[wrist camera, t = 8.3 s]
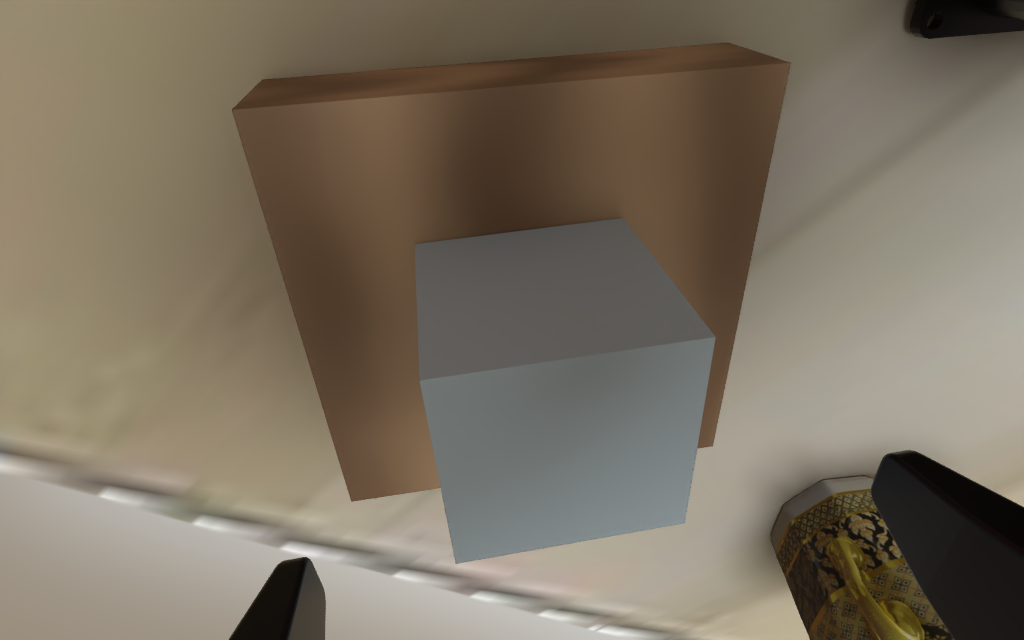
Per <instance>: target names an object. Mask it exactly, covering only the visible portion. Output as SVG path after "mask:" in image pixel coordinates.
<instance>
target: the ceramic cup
mask: <svg viewBox="0 0 1024 640" xmlns="http://www.w3.org/2000/svg"><path fill="white" fill-rule="evenodd" d="M872 483H873V479H872V478H868V477H866V476H858V477H849V478H839V479H829V480H822V481H820V482H818V483H817V484H815V485H813V486H812V487H810V488H809V489H807V490H806V491H804V492H802V493H801V494H799V495H798V496H796V497H795V498H793V499H791V500H790V501H788V502H787V503H785V504H784V505H783V507H782V509H781V512H780V514H779V516H778V519H777V521H776V523H775V526H774V528H773V530H772V533H771V542H772V545H773V548H774V550H775V553H776V556H777V559H778V561H779V563H780V566H781V568H782V571H783V573H784V575H785V578H786V580H787V583H788V586H789V588H790V591H791V593H792V596H793V599H794V601H795V604H796V606H797V609H798V611H799V614H800V617H801V619H802V621H803V623H804V626H805V628H806V630H807V633H808V635H809V638H810V640H954V638H953V637H952V635H951V634H950V632H949V631H948V630H947V628H946V627H945V625H944V624H943V622H942V621H941V619H940V618H939V616H938V615H937V613H936V612H935V610H934V609H933V607H932V606H931V604H930V602H929V601H928V599H927V598H926V596H925V595H924V593H923V591H922V590H921V588H920V586H919V585H918V583H917V581H916V579H915V578H914V576H913V574H912V572H911V570H910V568H909V567H908V565H907V563H906V561H905V559H904V557H903V556H902V554H901V552H900V550H899V548H898V547H897V545H896V543H895V541H894V539H893V537H892V536H891V534H890V532H889V530H888V528H887V526H886V525H885V523H884V521H883V519H882V517H881V515H880V514H879V512H878V510H877V508H876V506H875V504H874V502H873V499H872V496H871V486H872Z"/></svg>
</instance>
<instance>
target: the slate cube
mask: <svg viewBox="0 0 1024 640" xmlns="http://www.w3.org/2000/svg"><path fill="white" fill-rule="evenodd" d="M415 270H416V297H417V325H418V352H419V380H420V385H421V391H422V396H423V401H424V406H425V411H426V416H427V421H428V426H429V431H430V436H431V441H432V446H433V451H434V456H435V461H436V466H437V471H438V476H439V481H440V487H441V492H442V497H443V502H444V507H445V512H446V517H447V522H448V527H449V532H450V537H451V542H452V547H453V552H454V557H455V562H456V564H458V563H463V562H469V561H474V560H480V559H486V558H491V557H497V556H502V555H508V554H514V553H519V552H525V551H531V550H536V549H542V548H547V547H553V546H559V545H564V544H570V543H576V542H581V541H587V540H592V539H598V538H604V537H609V536H615V535H621V534H626V533H632V532H637V531H643V530H649V529H654V528H660V527H666V526H671V525H677V524H682V523H685V518H686V512H687V506H688V500H689V494H690V488H691V482H692V476H693V470H694V464H695V458H696V452H697V446H698V440H699V434H700V428H701V422H702V416H703V410H704V404H705V398H706V392H707V386H708V380H709V374H710V368H711V362H712V356H713V350H714V344H715V338H716V337H715V335H714V334H713V333H712V332H711V330H710V329H709V328H708V326H707V325H706V324H705V322H704V321H703V320H702V319H701V317H700V316H699V315H698V313H697V312H696V311H695V310H694V308H693V307H692V306H691V304H690V303H689V302H688V301H687V299H686V298H685V297H684V295H683V294H682V293H681V292H680V290H679V289H678V288H677V286H676V285H675V284H674V283H673V281H672V280H671V279H670V277H669V276H668V275H667V273H666V272H665V271H664V270H663V268H662V267H661V266H660V264H659V263H658V262H657V261H656V259H655V258H654V257H653V255H652V254H651V253H650V252H649V250H648V249H647V248H646V246H645V245H644V244H643V243H642V241H641V240H640V239H639V237H638V236H637V235H636V234H635V232H634V231H633V230H632V228H631V227H630V226H629V224H628V223H627V222H626V221H625V219H624V218H618V219H610V220H602V221H594V222H586V223H578V224H570V225H562V226H554V227H546V228H538V229H530V230H522V231H515V232H507V233H499V234H491V235H483V236H475V237H467V238H459V239H451V240H443V241H435V242H427V243H419V244H415Z"/></svg>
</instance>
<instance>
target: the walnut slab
mask: <svg viewBox="0 0 1024 640" xmlns="http://www.w3.org/2000/svg"><path fill="white" fill-rule="evenodd" d="M790 64H791V63H790V62H787V61H784V60H780V59H777V58H774V57H771V56H768V55H765V54H762V53H759V52H755V51H752V50H749V49H746V48H743V47H740V46H737V45H733V44H730V43H720V44H707V45H694V46H682V47H669V48H657V49H644V50H631V51H619V52H606V53H594V54H581V55H569V56H556V57H543V58H531V59H518V60H506V61H493V62H481V63H468V64H455V65H443V66H430V67H418V68H405V69H392V70H380V71H367V72H355V73H342V74H330V75H317V76H304V77H292V78H279V79H267V80H262V81H261V82H260V83H259V84H257V85H256V86H255V87H254V88H253V89H252V90H251V91H250V92H249V93H248V94H247V95H246V96H245V97H244V98H243V99H242V100H241V101H240V102H239V103H238V104H237V105H236V106H235V107H234V108H233V109H232V112H233V115H234V119H235V122H236V125H237V128H238V132H239V135H240V138H241V142H242V145H243V148H244V151H245V155H246V158H247V161H248V164H249V168H250V171H251V174H252V178H253V181H254V184H255V187H256V191H257V194H258V197H259V201H260V204H261V207H262V210H263V214H264V217H265V220H266V223H267V227H268V230H269V233H270V237H271V240H272V243H273V246H274V250H275V253H276V256H277V259H278V263H279V266H280V269H281V273H282V276H283V279H284V282H285V286H286V289H287V292H288V295H289V299H290V302H291V305H292V309H293V312H294V315H295V318H296V322H297V325H298V328H299V331H300V335H301V338H302V341H303V345H304V348H305V351H306V354H307V358H308V361H309V364H310V367H311V371H312V374H313V377H314V381H315V384H316V387H317V390H318V394H319V397H320V400H321V404H322V407H323V410H324V413H325V417H326V420H327V423H328V426H329V430H330V433H331V436H332V440H333V443H334V446H335V449H336V453H337V456H338V459H339V462H340V466H341V469H342V472H343V476H344V479H345V482H346V485H347V489H348V492H349V495H350V498H351V502H352V501H358V500H365V499H371V498H378V497H384V496H391V495H397V494H404V493H410V492H417V491H424V490H430V489H437V488H441V487H440V481H439V476H438V471H437V466H436V461H435V456H434V451H433V446H432V441H431V436H430V431H429V426H428V421H427V416H426V411H425V406H424V401H423V396H422V391H421V385H420V380H419V352H418V325H417V297H416V270H415V244H419V243H427V242H435V241H443V240H451V239H459V238H467V237H475V236H483V235H491V234H499V233H507V232H515V231H522V230H530V229H538V228H546V227H554V226H562V225H570V224H578V223H586V222H594V221H602V220H610V219H618V218H624V219H625V221H626V222H627V223H628V224H629V226H630V227H631V228H632V230H633V231H634V232H635V234H636V235H637V236H638V237H639V239H640V240H641V241H642V243H643V244H644V245H645V246H646V248H647V249H648V250H649V252H650V253H651V254H652V255H653V257H654V258H655V259H656V261H657V262H658V263H659V264H660V266H661V267H662V268H663V270H664V271H665V272H666V273H667V275H668V276H669V277H670V279H671V280H672V281H673V283H674V284H675V285H676V286H677V288H678V289H679V290H680V292H681V293H682V294H683V295H684V297H685V298H686V299H687V301H688V302H689V303H690V304H691V306H692V307H693V308H694V310H695V311H696V312H697V313H698V315H699V316H700V317H701V319H702V320H703V321H704V322H705V324H706V325H707V326H708V328H709V329H710V330H711V332H712V333H713V334H714V335H715V337H716V338H715V344H714V350H713V356H712V362H711V368H710V374H709V380H708V386H707V392H706V398H705V404H704V410H703V416H702V422H701V428H700V434H699V440H698V446H697V448H704V447H710V446H713V443H714V438H715V433H716V428H717V423H718V418H719V413H720V408H721V403H722V398H723V393H724V389H725V384H726V379H727V374H728V369H729V364H730V359H731V354H732V349H733V344H734V339H735V334H736V330H737V325H738V320H739V315H740V310H741V305H742V300H743V295H744V290H745V285H746V280H747V275H748V271H749V266H750V261H751V256H752V251H753V246H754V241H755V236H756V231H757V226H758V221H759V216H760V212H761V207H762V202H763V197H764V192H765V187H766V182H767V177H768V172H769V167H770V162H771V157H772V152H773V148H774V143H775V138H776V133H777V128H778V123H779V118H780V113H781V108H782V103H783V98H784V93H785V89H786V84H787V79H788V74H789V69H790Z"/></svg>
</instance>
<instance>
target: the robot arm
mask: <svg viewBox="0 0 1024 640" xmlns="http://www.w3.org/2000/svg"><path fill="white" fill-rule="evenodd" d="M933 13H934V17H933V20H932V22H931V24H930V25H929V26H927V23H928V20H929V18H930V16H931V15H932V14H933ZM910 29H911V32H912V33H913V34H914V35H915V36H918V37H923V38H929V39H931V38H943V37H954V36H966V35H977V34H989V33H1000V32H1012V31H1023V30H1024V0H917V2H916V5H915V8H914V12H913V15H912V19H911V24H910ZM871 496H872V499H873V502H874V504H875V506H876V508H877V510H878V512H879V514H880V515H881V517H882V519H883V521H884V523H885V525H886V526H887V528H888V530H889V532H890V534H891V536H892V537H893V539H894V541H895V543H896V545H897V547H898V548H899V550H900V552H901V554H902V556H903V557H904V559H905V561H906V563H907V565H908V567H909V568H910V570H911V572H912V574H913V576H914V578H915V579H916V581H917V583H918V585H919V586H920V588H921V590H922V591H923V593H924V595H925V596H926V598H927V599H928V601H929V602H930V604H931V606H932V607H933V609H934V610H935V612H936V613H937V615H938V616H939V618H940V619H941V621H942V622H943V624H944V625H945V627H946V628H947V630H948V631H949V632H950V634H951V635H952V637H953V638H954V640H1024V507H1022V506H1020V505H1019V504H1017V503H1015V502H1013V501H1011V500H1009V499H1007V498H1005V497H1003V496H1001V495H999V494H997V493H995V492H994V491H992V490H990V489H988V488H986V487H984V486H982V485H980V484H978V483H976V482H974V481H972V480H970V479H968V478H967V477H965V476H963V475H961V474H959V473H957V472H955V471H953V470H951V469H949V468H947V467H945V466H943V465H942V464H940V463H938V462H936V461H934V460H932V459H930V458H928V457H926V456H924V455H922V454H920V453H918V452H915V451H911V450H906V451H900V452H894V453H889V454H887V455H885V456H884V457H883V459H882V461H881V463H880V466H879V468H878V471H877V473H876V476H875V478H874V480H873V483H872V486H871ZM325 609H326V600H325V592H324V588H323V586H322V583H321V581H320V579H319V577H318V575H317V572H316V570H315V568H314V566H313V563H312V561H311V560H310V559H309V558H307V557H302V558H297V559H292V560H285V561H282V562H281V563H280V564H278V565H277V567H276V568H275V569H274V571H273V573H272V574H271V575H270V577H269V578H268V580H267V582H266V583H265V585H264V586H263V588H262V589H261V591H260V592H259V594H258V595H257V597H256V598H255V600H254V601H253V603H252V605H251V606H250V608H249V609H248V611H247V612H246V614H245V615H244V617H243V618H242V620H241V621H240V623H239V625H238V626H237V628H236V629H235V631H234V632H233V634H232V635H231V637H230V638H229V640H325V611H326V610H325Z"/></svg>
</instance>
